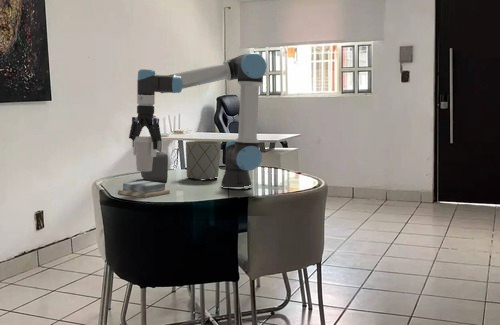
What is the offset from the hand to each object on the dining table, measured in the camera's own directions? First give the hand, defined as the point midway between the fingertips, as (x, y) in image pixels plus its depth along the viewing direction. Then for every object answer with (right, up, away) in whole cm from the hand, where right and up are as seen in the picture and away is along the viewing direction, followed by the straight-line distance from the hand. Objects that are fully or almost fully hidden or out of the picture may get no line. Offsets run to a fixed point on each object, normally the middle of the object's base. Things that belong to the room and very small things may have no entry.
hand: (144, 155), depth 251 cm
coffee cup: (0, -7, +1) cm, 7 cm away
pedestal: (-1, -17, +2) cm, 17 cm away
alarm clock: (-4, -13, +44) cm, 46 cm away
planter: (+21, -12, +58) cm, 62 cm away
